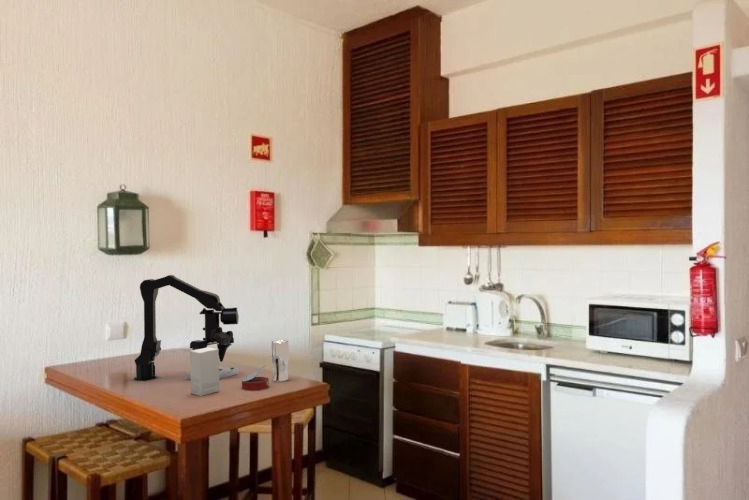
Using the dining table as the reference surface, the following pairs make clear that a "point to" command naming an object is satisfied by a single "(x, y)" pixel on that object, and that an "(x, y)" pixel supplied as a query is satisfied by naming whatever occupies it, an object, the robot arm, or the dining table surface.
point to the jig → (222, 372)
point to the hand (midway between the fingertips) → (212, 363)
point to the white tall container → (280, 360)
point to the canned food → (255, 381)
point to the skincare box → (204, 371)
